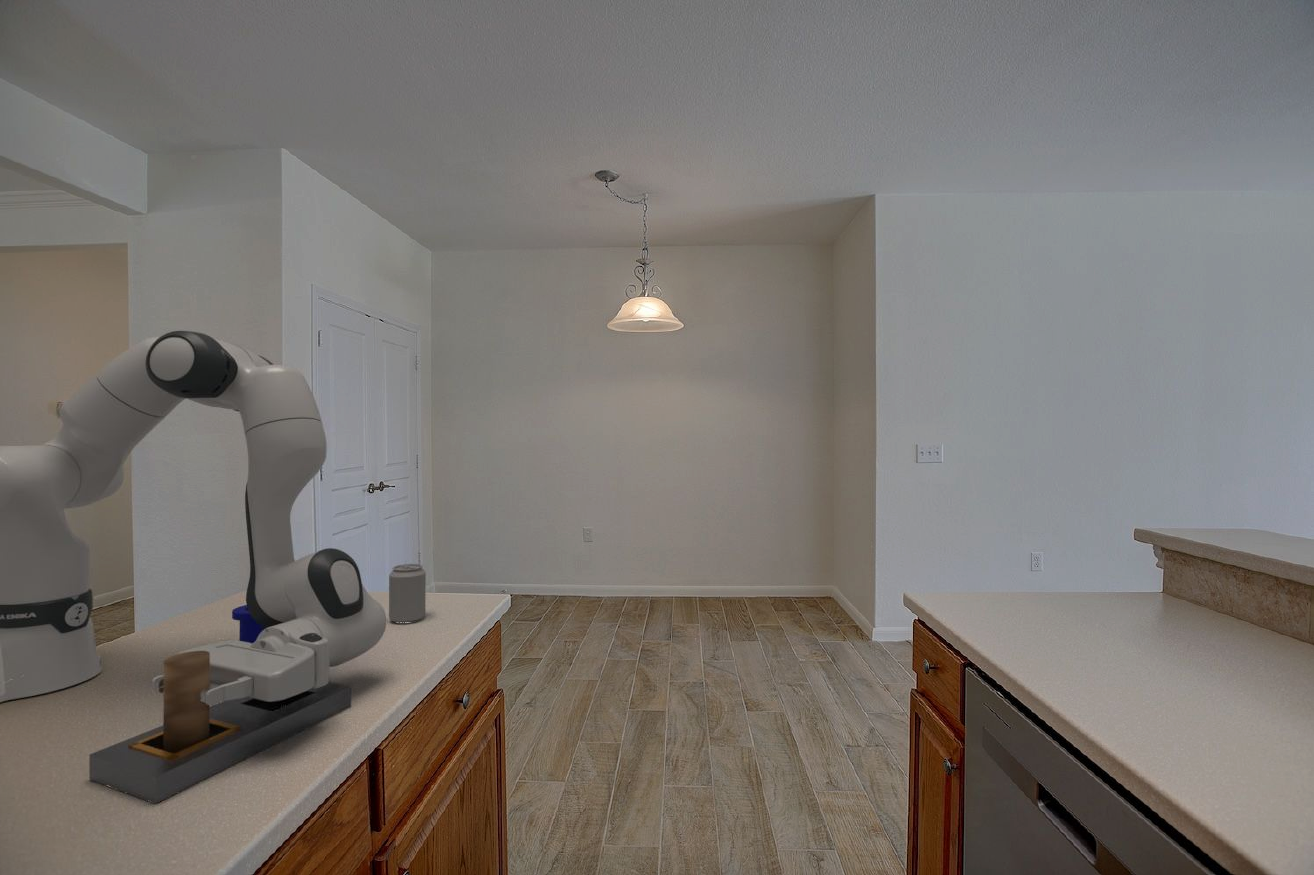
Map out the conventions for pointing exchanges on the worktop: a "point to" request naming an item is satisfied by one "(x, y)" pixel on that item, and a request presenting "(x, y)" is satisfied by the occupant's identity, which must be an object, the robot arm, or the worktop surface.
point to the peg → (185, 700)
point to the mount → (247, 624)
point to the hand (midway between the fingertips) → (179, 692)
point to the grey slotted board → (213, 743)
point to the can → (407, 593)
